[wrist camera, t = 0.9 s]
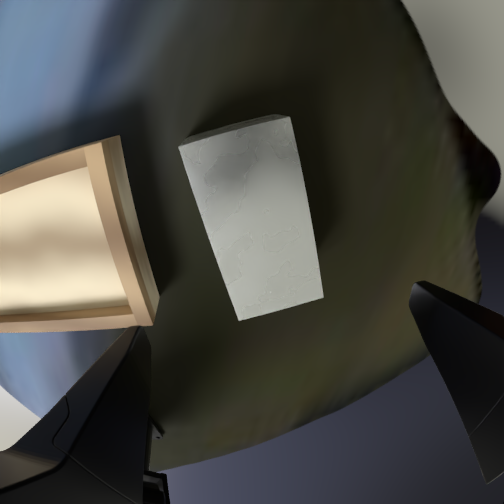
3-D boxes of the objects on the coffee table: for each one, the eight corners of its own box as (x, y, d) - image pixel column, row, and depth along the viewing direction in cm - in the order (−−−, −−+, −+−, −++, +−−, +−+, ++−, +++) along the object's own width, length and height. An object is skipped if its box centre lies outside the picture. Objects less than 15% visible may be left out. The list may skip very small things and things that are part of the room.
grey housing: (305, 262, 21) (323, 297, 17) (234, 282, 21) (238, 320, 17) (273, 113, 16) (290, 117, 12) (187, 137, 16) (178, 146, 12)
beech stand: (159, 296, 20) (153, 325, 18) (1, 311, 19) (-14, 332, 17) (119, 135, 15) (101, 142, 12) (-45, 195, 14) (-68, 210, 12)
